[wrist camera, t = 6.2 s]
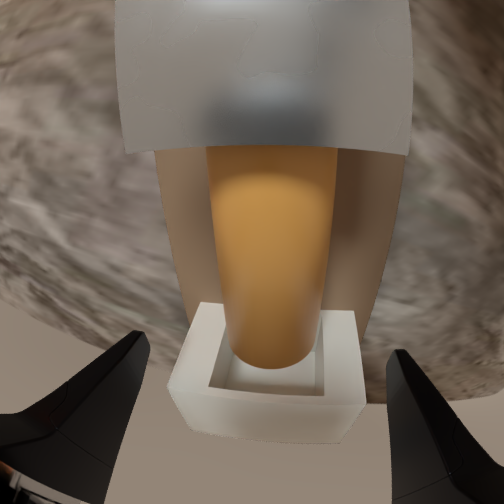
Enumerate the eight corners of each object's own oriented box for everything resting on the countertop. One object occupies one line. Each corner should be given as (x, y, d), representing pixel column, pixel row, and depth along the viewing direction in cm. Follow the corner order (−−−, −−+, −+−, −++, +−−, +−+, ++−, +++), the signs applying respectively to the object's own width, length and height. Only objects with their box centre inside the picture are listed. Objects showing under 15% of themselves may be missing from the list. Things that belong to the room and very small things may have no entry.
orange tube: (325, -12, 6) (339, -58, 3) (314, 306, 13) (315, 371, 10) (216, -9, 6) (176, -48, 3) (236, 302, 13) (219, 364, 10)
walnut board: (384, -67, 4) (389, -74, 3) (351, 356, 17) (352, 366, 16) (155, -59, 5) (148, -65, 5) (201, 346, 18) (198, 355, 17)
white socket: (353, 310, 14) (366, 403, 9) (337, 366, 16) (339, 443, 12) (200, 301, 15) (166, 387, 10) (212, 357, 17) (191, 430, 13)
